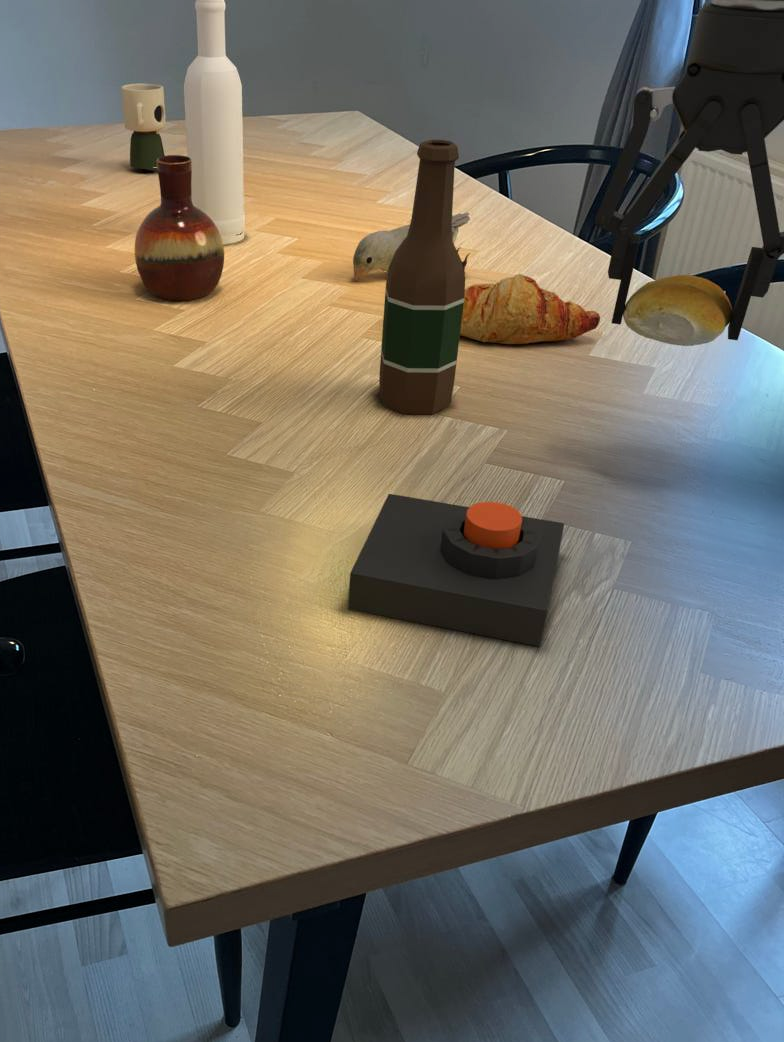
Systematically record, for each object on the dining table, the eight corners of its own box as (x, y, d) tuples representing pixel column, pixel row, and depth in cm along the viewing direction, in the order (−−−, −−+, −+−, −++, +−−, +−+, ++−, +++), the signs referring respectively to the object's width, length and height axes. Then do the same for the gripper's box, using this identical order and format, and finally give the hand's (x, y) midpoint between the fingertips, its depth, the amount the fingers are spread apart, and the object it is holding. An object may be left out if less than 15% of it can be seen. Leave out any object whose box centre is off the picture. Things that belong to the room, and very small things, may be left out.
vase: (141, 308, 119) (129, 171, 110) (134, 278, 128) (123, 149, 118) (231, 303, 121) (227, 168, 112) (218, 274, 130) (214, 147, 120)
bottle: (250, 231, 145) (247, -10, 127) (238, 247, 139) (233, -4, 121) (198, 227, 146) (187, -13, 128) (184, 243, 140) (170, -7, 122)
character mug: (163, 178, 169) (157, 93, 161) (122, 176, 169) (114, 91, 161) (173, 163, 177) (168, 82, 169) (134, 162, 178) (127, 80, 170)
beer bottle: (399, 421, 96) (422, 155, 81) (363, 390, 102) (378, 136, 87) (466, 409, 99) (501, 149, 84) (428, 379, 104) (454, 130, 89)
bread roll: (733, 321, 83) (748, 273, 80) (711, 356, 77) (727, 305, 74) (636, 301, 86) (648, 254, 84) (608, 333, 80) (620, 284, 77)
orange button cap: (521, 527, 72) (525, 506, 71) (514, 555, 69) (518, 534, 68) (468, 517, 73) (471, 497, 72) (459, 545, 70) (461, 524, 69)
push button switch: (557, 557, 78) (569, 502, 75) (539, 647, 69) (552, 589, 66) (385, 527, 81) (390, 473, 78) (347, 609, 72) (351, 551, 69)
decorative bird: (345, 275, 131) (348, 215, 126) (454, 264, 135) (461, 207, 130) (360, 288, 127) (363, 227, 122) (472, 277, 131) (479, 218, 126)
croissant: (409, 360, 117) (410, 312, 110) (420, 295, 121) (421, 245, 113) (591, 374, 113) (604, 325, 106) (596, 307, 117) (609, 256, 110)
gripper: (921, 5, 67) (809, 328, 81) (605, -12, 72) (551, 294, 86) (938, 17, 62) (814, 361, 76) (594, -2, 67) (538, 323, 81)
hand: (674, 325), depth 81 cm, fingers closed on bread roll, 8 cm apart
